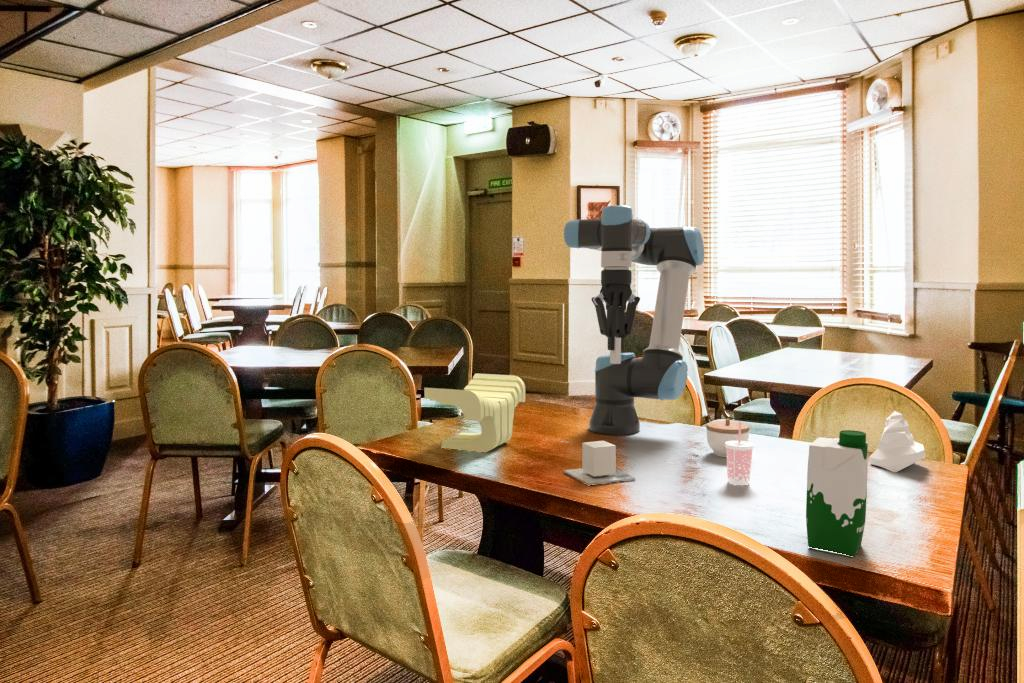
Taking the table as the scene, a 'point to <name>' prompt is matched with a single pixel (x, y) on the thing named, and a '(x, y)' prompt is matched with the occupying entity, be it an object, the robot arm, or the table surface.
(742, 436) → the lidded jar
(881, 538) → the table surface
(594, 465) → the cream cube
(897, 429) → the soft serve ice cream
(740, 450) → the beverage cup
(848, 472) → the milk carton
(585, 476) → the square grey base plate
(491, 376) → the slatted curved stool
